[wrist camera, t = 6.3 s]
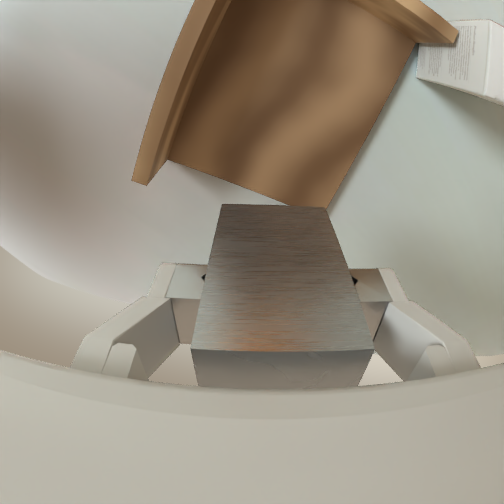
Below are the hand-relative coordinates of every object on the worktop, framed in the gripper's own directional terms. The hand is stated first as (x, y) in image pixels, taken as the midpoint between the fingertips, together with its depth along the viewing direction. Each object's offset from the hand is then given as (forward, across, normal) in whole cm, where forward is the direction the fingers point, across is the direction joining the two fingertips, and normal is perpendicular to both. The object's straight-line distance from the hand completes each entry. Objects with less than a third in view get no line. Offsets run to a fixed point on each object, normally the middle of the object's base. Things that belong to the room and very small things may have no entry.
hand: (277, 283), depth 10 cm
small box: (+20, -17, -10) cm, 28 cm away
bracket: (+4, 0, +2) cm, 4 cm away
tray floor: (+20, -2, -5) cm, 20 cm away
